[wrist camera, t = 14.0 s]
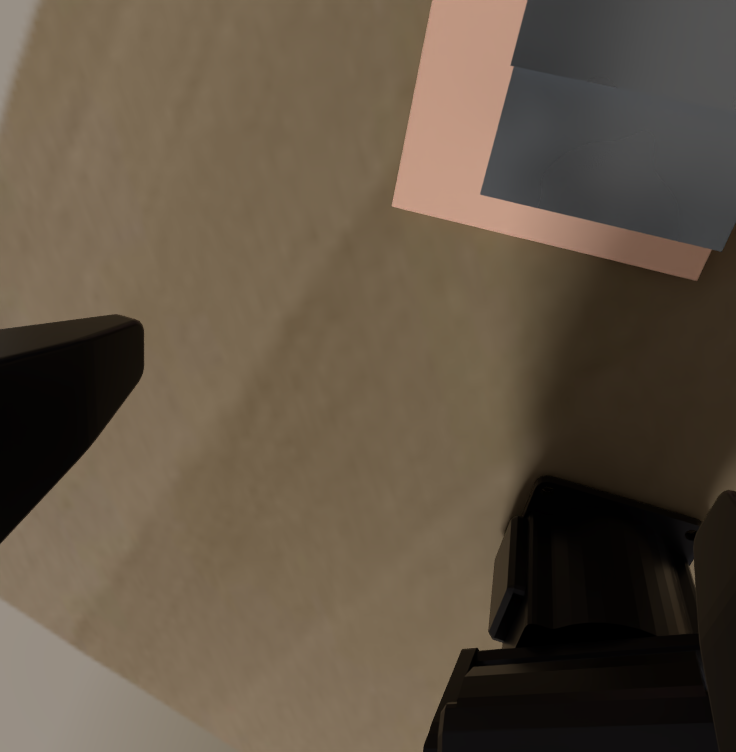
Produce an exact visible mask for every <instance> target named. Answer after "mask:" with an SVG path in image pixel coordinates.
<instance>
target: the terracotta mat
mask: <svg viewBox="0 0 736 752" xmlns="http://www.w3.org/2000/svg"><path fill="white" fill-rule="evenodd" d="M526 4H527V0H432V5H431V10H430V15H429V20H428V25H427V30H426V35H425V40H424V45H423V50H422V55H421V61H420V66H419V71H418V76H417V81H416V86H415V91H414V96H413V101H412V106H411V111H410V116H409V122H408V127H407V132H406V137H405V142H404V147H403V152H402V157H401V162H400V167H399V172H398V177H397V183H396V188H395V193H394V198H393V203H392V207H397V208H401V209H405V210H409V211H413V212H417V213H421V214H425V215H429V216H433V217H437V218H441V219H446V220H450V221H454V222H458V223H462V224H466V225H470V226H474V227H478V228H482V229H486V230H491V231H495V232H499V233H503V234H507V235H511V236H515V237H519V238H523V239H527V240H531V241H536V242H540V243H544V244H548V245H552V246H556V247H560V248H564V249H568V250H572V251H576V252H580V253H585V254H589V255H593V256H597V257H601V258H605V259H609V260H613V261H617V262H621V263H625V264H630V265H634V266H638V267H642V268H646V269H650V270H654V271H658V272H662V273H666V274H670V275H675V276H679V277H683V278H687V279H691V280H695V281H697V280H698V278H699V276H700V274H701V271H702V269H703V267H704V265H705V263H706V261H707V259H708V257H709V255H710V252H711V250H712V249H708V248H703V247H699V246H695V245H691V244H686V243H682V242H678V241H674V240H670V239H665V238H661V237H657V236H653V235H648V234H644V233H640V232H636V231H631V230H627V229H623V228H619V227H615V226H610V225H606V224H602V223H598V222H593V221H589V220H585V219H581V218H576V217H572V216H568V215H564V214H560V213H555V212H551V211H547V210H543V209H538V208H534V207H530V206H526V205H521V204H517V203H513V202H509V201H505V200H500V199H496V198H492V197H488V196H483V195H480V192H481V188H482V185H483V181H484V177H485V173H486V169H487V166H488V162H489V158H490V154H491V151H492V147H493V143H494V139H495V135H496V132H497V128H498V124H499V120H500V117H501V113H502V109H503V105H504V101H505V98H506V94H507V90H508V86H509V83H510V79H511V75H512V71H513V67H514V66H510V65H511V61H512V57H513V54H514V50H515V46H516V42H517V38H518V34H519V31H520V27H521V23H522V19H523V15H524V11H525V8H526Z"/></svg>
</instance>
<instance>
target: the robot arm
mask: <svg viewBox="0 0 736 752" xmlns="http://www.w3.org/2000/svg"><path fill="white" fill-rule="evenodd" d="M143 370H144V328H143V325H142V324H141V323H140V321H138V320H136V319H132V318H129V317H126V316H122V315H117V314H114V315H106V316H98V317H91V318H83V319H75V320H68V321H60V322H53V323H45V324H37V325H30V326H22V327H14V328H7V329H0V544H1V543H2V542H3V540H4V539H5V538H6V537H7V536H8V535H9V534H10V533H11V532H12V531H13V530H14V529H15V528H16V527H17V525H18V524H19V523H20V522H21V521H22V520H23V519H24V518H25V517H26V516H27V515H28V514H29V513H30V512H31V510H32V509H33V508H34V507H35V506H36V505H37V504H38V503H39V502H40V501H41V500H42V499H43V498H44V496H45V495H46V494H47V493H48V492H49V491H50V490H51V489H52V488H53V487H54V486H55V485H56V484H57V483H58V481H59V480H60V479H61V478H62V477H63V476H64V475H65V474H66V473H67V472H68V471H69V470H70V469H71V467H72V466H73V465H74V464H75V463H76V462H77V461H78V460H79V459H80V458H81V457H82V455H83V454H84V453H85V452H86V451H87V450H88V449H89V447H90V446H91V445H92V444H93V442H94V441H95V440H96V439H97V437H98V436H99V435H100V433H101V432H102V431H103V429H104V428H105V427H106V425H107V424H108V423H109V421H110V420H111V419H112V417H113V416H114V415H115V413H116V412H117V411H118V409H119V408H120V406H121V405H122V404H123V402H124V401H125V400H126V398H127V397H128V396H129V394H130V393H131V392H132V390H133V389H134V388H135V386H136V385H137V384H138V382H139V381H140V379H141V377H142V374H143ZM545 487H550V488H552V489H553V490H552V491H544V490H543V488H545ZM689 530H696V532H695V533H691V534H690V533H686V532H687V531H689ZM693 559H694V569H695V584H694V581H693V577H692V574H691V571H690V567H689V566H690V564H691V563H692V561H693ZM695 586H696V588H695ZM488 632H489V634H490V636H491V638H492V639H493V640H496V641H499V642H502V643H503V645H502V649H494V650H482V651H479V649H478V648H469V649H462V650H461V653H460V655H459V658H458V660H457V663H456V665H455V668H454V670H453V672H452V675H451V677H450V680H449V682H448V685H447V687H446V689H445V692H444V694H443V697H442V699H441V702H440V704H439V706H438V709H437V711H436V714H435V716H434V719H433V721H432V724H431V727H430V731H429V733H428V736H427V738H426V741H425V743H424V748H423V752H736V491H731V490H727V491H724V492H723V493H721V494H720V495H719V496H718V498H717V499H716V501H715V503H714V504H713V506H712V508H711V509H710V511H709V513H708V514H707V516H706V518H705V519H704V521H703V522H701V521H700V520H697V519H695V518H692V517H688V516H685V515H682V514H678V513H675V512H671V511H668V510H665V509H661V508H658V507H654V506H651V505H648V504H644V503H641V502H637V501H634V500H630V499H627V498H624V497H620V496H617V495H613V494H610V493H607V492H603V491H600V490H596V489H593V488H590V487H586V486H583V485H579V484H576V483H573V482H569V481H566V480H562V479H559V478H556V477H552V476H542V477H540V478H538V479H537V481H536V482H535V484H534V486H533V489H532V491H531V494H530V496H529V499H528V501H527V504H526V506H525V509H524V511H523V514H522V516H518V515H517V516H515V517H513V518H512V519H511V520H510V522H509V525H508V528H507V530H506V533H505V535H504V538H503V540H502V543H501V545H500V548H499V550H498V553H497V556H496V558H495V563H494V574H493V585H492V596H491V607H490V618H489V629H488Z"/></svg>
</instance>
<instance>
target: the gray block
mask: <svg viewBox="0 0 736 752" xmlns="http://www.w3.org/2000/svg"><path fill="white" fill-rule="evenodd" d="M510 66H514V67H513V71H512V75H511V79H510V83H509V86H508V90H507V94H506V98H505V101H504V105H503V109H502V113H501V117H500V120H499V124H498V128H497V132H496V135H495V139H494V143H493V147H492V151H491V154H490V158H489V162H488V166H487V169H486V173H485V177H484V181H483V185H482V188H481V192H480V195H483V196H488V197H492V198H496V199H500V200H505V201H509V202H513V203H517V204H521V205H526V206H530V207H534V208H538V209H543V210H547V211H551V212H555V213H560V214H564V215H568V216H572V217H576V218H581V219H585V220H589V221H593V222H598V223H602V224H606V225H610V226H615V227H619V228H623V229H627V230H631V231H636V232H640V233H644V234H648V235H653V236H657V237H661V238H665V239H670V240H674V241H678V242H682V243H686V244H691V245H695V246H699V247H703V248H708V249H712V250H716V251H720V252H722V250H723V248H724V246H725V244H726V242H727V240H728V238H729V235H730V233H731V231H732V229H733V227H734V225H735V223H736V0H527V4H526V8H525V11H524V15H523V19H522V23H521V27H520V31H519V34H518V38H517V42H516V46H515V50H514V54H513V57H512V61H511V65H510Z"/></svg>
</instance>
